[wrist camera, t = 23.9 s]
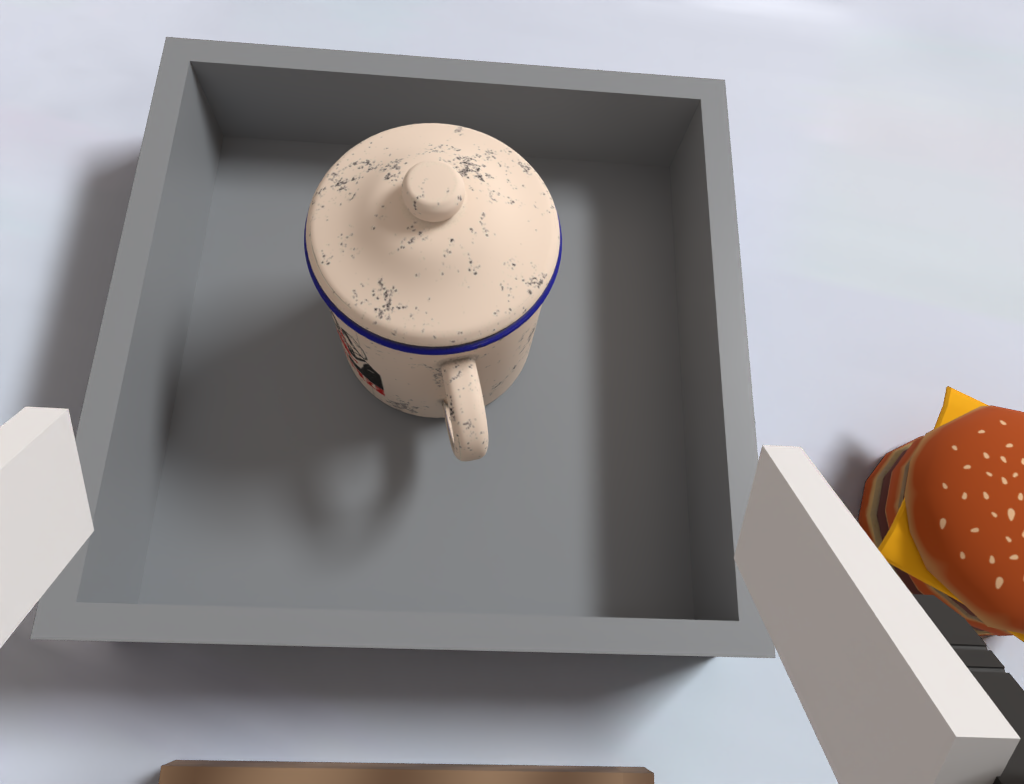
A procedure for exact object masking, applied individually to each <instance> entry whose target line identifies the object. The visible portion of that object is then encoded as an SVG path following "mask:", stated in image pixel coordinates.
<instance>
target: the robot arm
mask: <svg viewBox="0 0 1024 784" xmlns="http://www.w3.org/2000/svg"><path fill="white" fill-rule="evenodd" d="M93 531H94V527H93V523H92V518H91V513H90V508H89V504H88V499H87V494H86V489H85V484H84V480H83V475H82V470H81V465H80V461H79V456H78V451H77V446H76V442H75V437H74V432H73V427H72V423H71V418H70V413H69V409H63V408H44V407H25V408H23V409H22V410H21V411H20V412H18V413H17V414H16V415H15V416H13V417H12V418H11V419H10V420H8V421H7V422H6V423H5V424H3V425H2V426H1V427H0V648H1V647H2V646H3V644H4V643H5V642H6V641H7V639H8V638H9V637H10V636H11V634H12V633H13V632H14V631H15V629H16V628H17V627H18V626H19V624H20V623H21V622H22V621H23V619H24V618H25V617H26V616H27V614H28V613H29V612H30V610H31V609H32V608H33V607H34V605H35V604H36V603H37V602H38V600H39V599H40V598H41V597H42V595H43V594H44V593H45V592H46V590H47V589H48V588H49V587H50V585H51V584H52V583H53V582H54V580H55V579H56V578H57V577H58V575H59V574H60V573H61V572H62V570H63V569H64V568H65V567H66V565H67V564H68V563H69V562H70V560H71V559H72V558H73V557H74V555H75V554H76V553H77V551H78V550H79V549H80V548H81V546H82V545H83V544H84V543H85V541H86V540H87V539H88V538H89V536H90V535H91V534H92V533H93ZM734 560H735V562H736V564H737V566H738V568H739V571H740V573H741V575H742V577H743V579H744V581H745V584H746V586H747V588H748V590H749V592H750V594H751V596H752V599H753V601H754V603H755V605H756V607H757V609H758V611H759V614H760V616H761V618H762V620H763V622H764V624H765V627H766V629H767V631H768V633H769V635H770V637H771V639H772V642H773V644H774V646H775V648H776V650H777V652H778V654H779V657H780V659H781V661H782V663H783V665H784V667H785V669H786V672H787V674H788V676H789V678H790V680H791V682H792V685H793V687H794V689H795V691H796V693H797V695H798V697H799V700H800V702H801V704H802V706H803V708H804V710H805V712H806V715H807V717H808V719H809V721H810V723H811V725H812V727H813V730H814V732H815V734H816V736H817V738H818V740H819V743H820V745H821V747H822V749H823V751H824V753H825V755H826V758H827V760H828V762H829V764H830V766H831V768H832V770H833V773H834V775H835V777H836V779H837V781H838V783H839V784H1024V690H1023V689H1022V688H1021V687H1020V686H1019V684H1018V683H1017V682H1016V681H1015V679H1014V678H1013V677H1012V676H1011V675H1010V673H1005V670H1004V668H1005V667H1004V666H1003V665H1002V663H1001V662H1000V661H999V660H998V659H997V657H996V656H995V655H994V654H993V652H992V651H991V650H987V648H986V646H987V645H986V644H985V643H984V641H983V640H982V639H981V638H980V636H979V635H978V634H977V633H976V631H975V630H974V629H973V628H972V627H971V625H970V624H969V623H968V622H967V620H966V619H965V618H964V617H962V616H961V615H960V614H958V613H957V612H956V611H954V610H953V609H952V608H950V607H949V606H948V605H946V604H945V603H944V602H942V601H941V600H940V599H938V598H937V597H936V596H934V595H920V594H911V592H910V591H909V590H908V588H907V587H906V586H905V584H904V583H903V582H902V580H901V579H900V578H899V576H898V575H897V574H896V573H895V571H894V570H893V569H892V567H891V566H890V565H889V563H888V562H887V561H886V559H885V558H884V557H883V555H882V554H881V553H880V551H879V550H878V549H877V547H876V546H875V545H874V543H873V542H872V541H871V539H870V538H869V537H868V535H867V534H866V533H865V531H864V530H863V529H862V527H861V526H860V525H859V523H858V522H857V521H856V519H855V518H854V517H853V515H852V514H851V513H850V511H849V510H848V509H847V507H846V506H845V505H844V503H843V502H842V501H841V500H840V498H839V497H838V496H837V494H836V493H835V492H834V490H833V489H832V488H831V486H830V485H829V484H828V482H827V481H826V480H825V478H824V477H823V476H822V474H821V473H820V472H819V470H818V469H817V468H816V466H815V465H814V464H813V462H812V461H811V460H810V458H809V457H808V456H807V454H806V453H805V452H804V450H803V449H802V448H801V447H793V446H773V445H762V449H761V453H760V457H759V461H758V465H757V469H756V473H755V477H754V480H753V484H752V488H751V492H750V496H749V500H748V504H747V508H746V512H745V516H744V520H743V523H742V527H741V531H740V535H739V539H738V543H737V547H736V551H735V555H734Z"/></svg>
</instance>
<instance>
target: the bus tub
mask: <svg viewBox="0 0 1024 784" xmlns="http://www.w3.org/2000/svg"><path fill="white" fill-rule="evenodd" d="M422 123H440V124H450V125H457V126H462V127H466V128H470V129H473V130H476V131H479V132H482V133H484V134H486V135H489V136H491V137H493V138H495V139H497V140H499V141H501V142H502V143H504V144H505V145H507V146H508V147H510V148H511V149H513V150H514V151H515V152H517V153H518V154H519V155H520V156H521V157H522V158H524V159H525V160H526V161H527V162H528V163H529V164H530V165H531V167H532V168H533V169H534V170H535V171H536V172H537V173H538V175H539V176H540V178H541V179H542V180H543V182H544V184H545V185H546V187H547V189H548V190H549V193H550V195H551V197H552V199H553V202H554V205H555V207H556V210H557V213H558V216H559V221H560V225H561V233H562V253H561V261H560V265H559V270H558V273H557V276H556V279H555V281H554V284H553V286H552V288H551V290H550V292H549V294H548V295H547V297H546V299H545V300H544V302H543V303H542V306H541V310H540V314H539V317H538V321H537V325H536V328H535V332H534V336H533V339H532V343H531V347H530V350H529V354H528V357H527V359H526V362H525V364H524V366H523V368H522V370H521V372H520V374H519V375H518V377H517V378H516V379H515V381H514V382H513V383H512V385H511V386H510V387H509V388H508V389H507V390H506V391H505V392H504V393H503V394H502V395H500V396H499V397H498V398H497V399H495V400H494V401H492V402H491V403H489V404H487V405H486V406H485V412H486V419H487V427H488V449H487V452H486V454H485V455H484V456H483V457H482V458H480V459H477V460H472V461H460V460H459V459H457V457H456V456H455V455H454V453H453V450H452V447H451V444H450V440H449V436H448V431H447V427H446V422H445V417H444V418H431V417H422V416H416V415H412V414H408V413H405V412H402V411H399V410H397V409H395V408H393V407H391V406H389V405H387V404H385V403H384V402H382V401H381V400H379V399H378V398H377V397H375V396H374V395H373V394H372V393H371V392H370V391H368V390H367V389H366V387H365V386H364V385H363V384H362V383H361V382H360V380H359V379H358V378H357V376H356V375H355V373H354V372H353V370H352V368H351V366H350V364H349V362H348V359H347V357H346V354H345V351H344V348H343V345H342V342H341V339H340V337H339V334H338V331H337V328H336V325H335V322H334V320H333V317H332V314H331V311H330V308H329V307H328V306H327V304H326V303H325V302H324V300H323V299H322V297H321V296H320V294H319V292H318V291H317V289H316V287H315V285H314V283H313V280H312V278H311V276H310V273H309V269H308V266H307V262H306V257H305V249H304V229H305V222H306V217H307V214H308V210H309V207H310V204H311V201H312V198H313V196H314V193H315V191H316V189H317V187H318V185H319V183H320V182H321V180H322V179H323V177H324V176H325V174H326V173H327V172H328V171H329V169H330V168H331V167H332V166H333V165H334V164H335V163H336V162H337V161H338V160H339V159H340V158H341V157H342V156H343V155H344V154H345V153H346V152H348V151H349V150H350V149H351V148H353V147H354V146H356V145H357V144H359V143H360V142H362V141H364V140H366V139H367V138H369V137H371V136H374V135H376V134H378V133H380V132H383V131H386V130H389V129H392V128H396V127H400V126H406V125H412V124H422ZM75 442H76V446H77V451H78V456H79V461H80V465H81V470H82V475H83V480H84V484H85V489H86V494H87V499H88V504H89V508H90V513H91V518H92V523H93V527H94V531H93V533H92V534H91V535H90V536H89V538H88V539H87V540H86V541H85V543H84V544H83V545H82V546H81V548H80V549H79V550H78V551H77V553H76V554H75V555H74V557H73V558H72V559H71V560H70V562H69V563H68V564H67V565H66V567H65V568H64V569H63V570H62V572H61V573H60V574H59V575H58V577H57V578H56V579H55V580H54V582H53V583H52V584H51V585H50V587H49V588H48V589H47V590H46V592H45V593H44V594H43V595H42V597H41V598H40V599H39V602H38V606H37V611H36V615H35V619H34V624H33V628H32V633H31V637H30V639H39V640H79V641H118V642H158V643H198V644H237V645H277V646H317V647H356V648H396V649H436V650H475V651H515V652H554V653H594V654H634V655H673V656H713V657H753V658H775V647H774V644H773V642H772V639H771V637H770V635H769V633H768V631H767V629H766V627H765V624H764V622H763V620H762V618H761V616H760V614H759V611H758V609H757V607H756V605H755V603H754V601H753V599H752V596H751V594H750V592H749V590H748V588H747V586H746V584H745V581H744V579H743V577H742V575H741V573H740V571H739V568H738V566H737V564H736V562H735V560H734V555H735V551H736V547H737V543H738V539H739V535H740V531H741V527H742V523H743V520H744V516H745V512H746V508H747V504H748V500H749V496H750V492H751V488H752V484H753V480H754V477H755V473H756V469H757V465H758V453H757V441H756V430H755V418H754V407H753V395H752V384H751V373H750V361H749V350H748V338H747V327H746V315H745V304H744V293H743V281H742V270H741V258H740V247H739V235H738V224H737V212H736V201H735V190H734V178H733V167H732V155H731V144H730V132H729V121H728V110H727V98H726V87H725V80H720V79H707V78H694V77H681V76H668V75H655V74H642V73H629V72H616V71H603V70H590V69H577V68H564V67H551V66H538V65H525V64H512V63H499V62H486V61H473V60H460V59H447V58H434V57H421V56H408V55H395V54H382V53H369V52H356V51H343V50H330V49H317V48H304V47H291V46H278V45H265V44H252V43H239V42H226V41H213V40H200V39H187V38H173V37H166V40H165V44H164V49H163V53H162V57H161V62H160V66H159V71H158V75H157V80H156V84H155V88H154V93H153V97H152V102H151V106H150V111H149V115H148V119H147V124H146V128H145V133H144V137H143V142H142V146H141V150H140V155H139V159H138V164H137V168H136V173H135V177H134V181H133V186H132V190H131V195H130V199H129V204H128V208H127V212H126V217H125V221H124V226H123V230H122V234H121V239H120V243H119V248H118V252H117V257H116V261H115V265H114V270H113V274H112V279H111V283H110V288H109V292H108V296H107V301H106V305H105V310H104V314H103V319H102V323H101V327H100V332H99V336H98V341H97V345H96V350H95V354H94V358H93V363H92V367H91V372H90V376H89V381H88V385H87V389H86V394H85V398H84V403H83V407H82V411H81V416H80V420H79V425H78V429H77V434H76V438H75Z"/></svg>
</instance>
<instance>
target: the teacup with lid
mask: <svg viewBox="0 0 1024 784" xmlns="http://www.w3.org/2000/svg"><path fill="white" fill-rule="evenodd" d="M304 249H305V257H306V262H307V266H308V269H309V273H310V276H311V278H312V280H313V283H314V285H315V287H316V289H317V291H318V292H319V294H320V296H321V297H322V299H323V300H324V302H325V303H326V304H327V306H328V307H329V308H330V311H331V314H332V317H333V320H334V322H335V325H336V328H337V331H338V334H339V337H340V339H341V342H342V345H343V348H344V351H345V354H346V357H347V359H348V362H349V364H350V366H351V368H352V370H353V372H354V373H355V375H356V376H357V378H358V379H359V380H360V382H361V383H362V384H363V385H364V386H365V387H366V389H367V390H368V391H370V392H371V393H372V394H373V395H374V396H375V397H377V398H378V399H379V400H381V401H382V402H384V403H385V404H387V405H389V406H391V407H393V408H395V409H397V410H399V411H402V412H405V413H408V414H412V415H416V416H422V417H431V418H444V417H445V422H446V427H447V431H448V436H449V440H450V444H451V447H452V450H453V453H454V455H455V456H456V457H457V459H459V460H460V461H472V460H477V459H480V458H482V457H483V456H484V455H485V454H486V452H487V449H488V427H487V419H486V412H485V406H486V405H487V404H489V403H491V402H492V401H494V400H495V399H497V398H498V397H499V396H500V395H502V394H503V393H504V392H505V391H506V390H507V389H508V388H509V387H510V386H511V385H512V383H513V382H514V381H515V379H516V378H517V377H518V375H519V374H520V372H521V370H522V368H523V366H524V364H525V362H526V359H527V357H528V354H529V350H530V347H531V343H532V339H533V336H534V332H535V328H536V325H537V321H538V317H539V314H540V310H541V306H542V303H543V302H544V300H545V299H546V297H547V295H548V294H549V292H550V290H551V288H552V286H553V284H554V281H555V279H556V276H557V273H558V270H559V265H560V261H561V253H562V233H561V225H560V221H559V216H558V213H557V210H556V207H555V205H554V202H553V199H552V197H551V195H550V193H549V190H548V189H547V187H546V185H545V184H544V182H543V180H542V179H541V178H540V176H539V175H538V173H537V172H536V171H535V170H534V169H533V168H532V167H531V165H530V164H529V163H528V162H527V161H526V160H525V159H524V158H522V157H521V156H520V155H519V154H518V153H517V152H515V151H514V150H513V149H511V148H510V147H508V146H507V145H505V144H504V143H502V142H501V141H499V140H497V139H495V138H493V137H491V136H489V135H486V134H484V133H482V132H479V131H476V130H473V129H470V128H466V127H462V126H457V125H450V124H440V123H422V124H412V125H406V126H400V127H396V128H392V129H389V130H386V131H383V132H380V133H378V134H376V135H374V136H371V137H369V138H367V139H366V140H364V141H362V142H360V143H359V144H357V145H356V146H354V147H353V148H351V149H350V150H349V151H348V152H346V153H345V154H344V155H343V156H342V157H341V158H340V159H339V160H338V161H337V162H336V163H335V164H334V165H333V166H332V167H331V168H330V169H329V171H328V172H327V173H326V174H325V176H324V177H323V179H322V180H321V182H320V183H319V185H318V187H317V189H316V191H315V193H314V196H313V198H312V201H311V204H310V207H309V210H308V214H307V217H306V222H305V229H304Z"/></svg>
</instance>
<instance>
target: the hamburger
mask: <svg viewBox="0 0 1024 784" xmlns="http://www.w3.org/2000/svg"><path fill="white" fill-rule="evenodd" d="M858 519H859V524H860V526H861V527H862V529H863V530H864V531H865V533H866V534H867V535H868V537H869V538H870V539H871V541H872V542H873V543H874V545H875V546H876V547H877V549H878V550H879V551H880V553H881V554H882V555H883V557H884V558H885V559H886V561H887V562H888V563H889V565H890V566H891V567H892V569H893V570H894V571H895V573H896V574H897V575H898V576H899V578H900V579H901V580H902V582H903V583H904V584H905V586H906V587H907V588H908V590H909V591H910V592H911V594H920V595H934V596H936V597H937V598H938V599H940V600H941V601H942V602H944V603H945V604H946V605H948V606H949V607H950V608H952V609H953V610H954V611H956V612H957V613H958V614H960V615H961V616H962V617H964V618H965V619H966V620H967V622H968V623H969V624H970V625H971V627H972V628H973V629H974V630H975V631H976V633H977V634H978V635H979V636H984V635H998V636H1007V635H1014V636H1016V637H1017V638H1019V639H1020V640H1022V641H1023V642H1024V412H1021V411H1016V410H1011V409H1006V408H1001V407H996V406H988V405H986V404H984V403H982V402H980V401H978V400H976V399H974V398H972V397H970V396H967V395H965V394H963V393H961V392H959V391H957V390H955V389H953V388H951V387H949V386H948V387H946V393H945V398H944V403H943V407H942V409H941V412H940V414H939V417H938V420H937V422H936V425H935V427H934V430H932V431H930V432H928V433H926V434H925V436H921V437H919V438H916V439H914V440H912V441H910V442H908V443H906V444H905V445H903V446H901V447H899V448H897V449H895V450H893V451H891V452H889V453H887V454H886V455H885V456H884V457H883V459H882V460H881V461H880V463H879V464H878V466H877V467H876V468H875V470H874V471H873V472H872V474H871V475H870V476H869V478H868V479H867V481H866V482H865V487H864V492H863V497H862V503H861V508H860V513H859V518H858Z"/></svg>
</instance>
